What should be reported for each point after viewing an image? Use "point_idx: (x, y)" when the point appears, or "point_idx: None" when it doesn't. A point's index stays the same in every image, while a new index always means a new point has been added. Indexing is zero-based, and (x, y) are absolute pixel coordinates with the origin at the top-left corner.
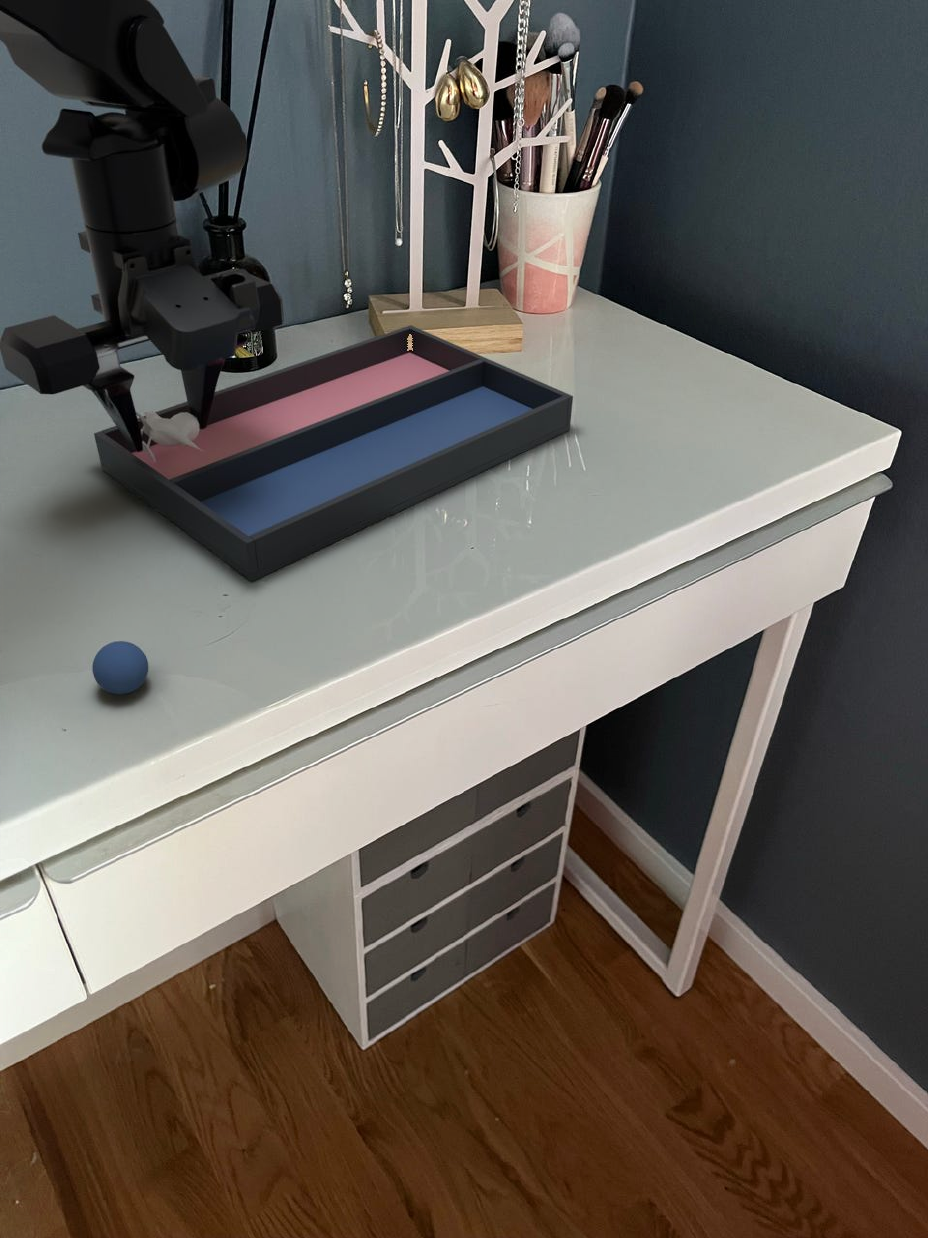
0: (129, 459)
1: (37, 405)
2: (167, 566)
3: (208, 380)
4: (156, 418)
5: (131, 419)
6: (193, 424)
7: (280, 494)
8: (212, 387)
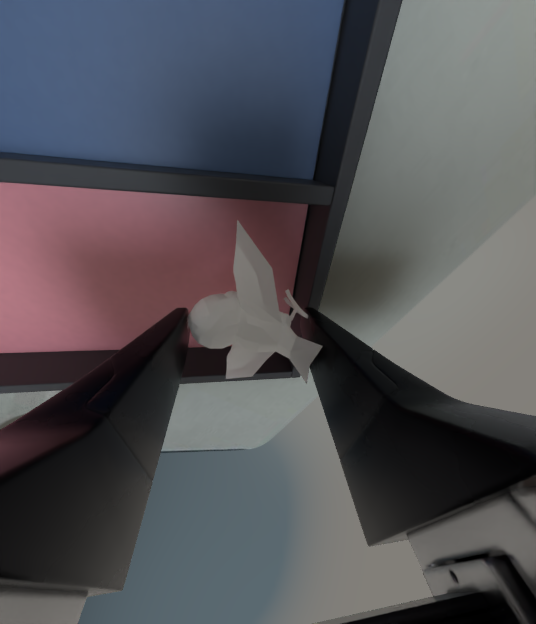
0: (318, 308)
1: (261, 431)
2: (431, 45)
3: (119, 378)
4: (260, 349)
5: (351, 343)
6: (207, 309)
7: (120, 37)
8: (119, 360)
